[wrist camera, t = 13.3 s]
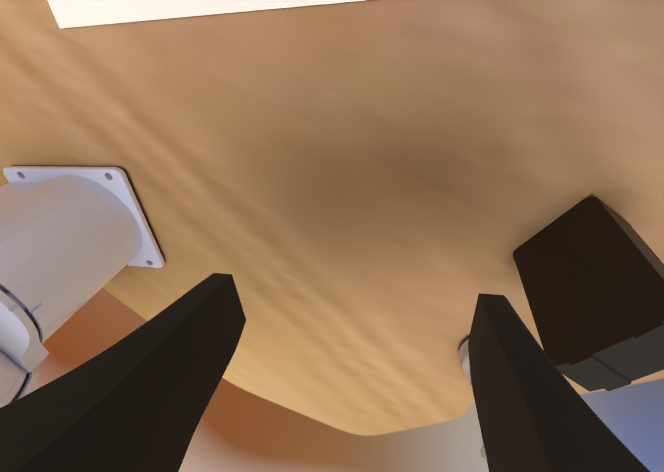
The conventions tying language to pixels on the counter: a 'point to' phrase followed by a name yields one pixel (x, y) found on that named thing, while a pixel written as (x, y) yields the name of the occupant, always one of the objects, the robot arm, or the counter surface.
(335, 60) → the counter surface
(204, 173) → the counter surface
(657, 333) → the ink cartridge
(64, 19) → the paper sheet
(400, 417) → the counter surface
